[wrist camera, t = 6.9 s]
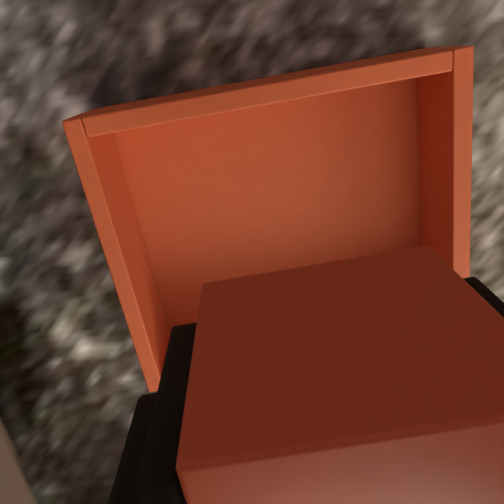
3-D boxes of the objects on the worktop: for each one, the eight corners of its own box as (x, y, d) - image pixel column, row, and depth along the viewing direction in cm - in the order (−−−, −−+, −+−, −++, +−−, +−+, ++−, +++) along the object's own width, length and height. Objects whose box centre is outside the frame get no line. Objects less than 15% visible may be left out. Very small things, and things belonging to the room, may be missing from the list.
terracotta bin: (161, 340, 21) (148, 393, 18) (93, 108, 17) (60, 120, 14) (431, 295, 20) (468, 340, 17) (426, 47, 16) (474, 45, 13)
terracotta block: (241, 451, 11) (245, 695, 7) (201, 281, 9) (172, 468, 5) (432, 421, 11) (559, 652, 7) (429, 243, 9) (597, 403, 5)
